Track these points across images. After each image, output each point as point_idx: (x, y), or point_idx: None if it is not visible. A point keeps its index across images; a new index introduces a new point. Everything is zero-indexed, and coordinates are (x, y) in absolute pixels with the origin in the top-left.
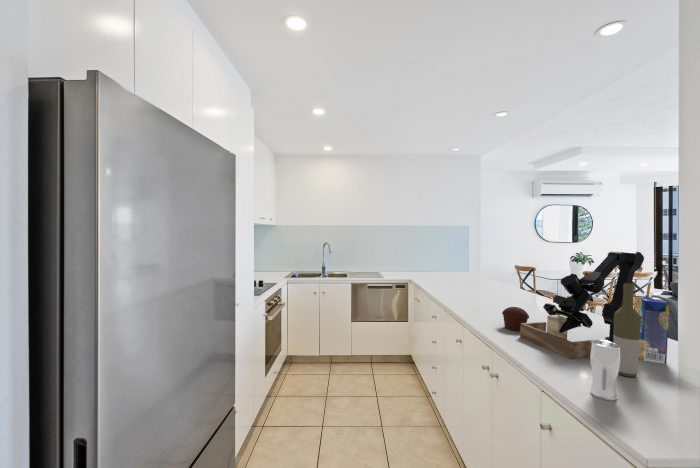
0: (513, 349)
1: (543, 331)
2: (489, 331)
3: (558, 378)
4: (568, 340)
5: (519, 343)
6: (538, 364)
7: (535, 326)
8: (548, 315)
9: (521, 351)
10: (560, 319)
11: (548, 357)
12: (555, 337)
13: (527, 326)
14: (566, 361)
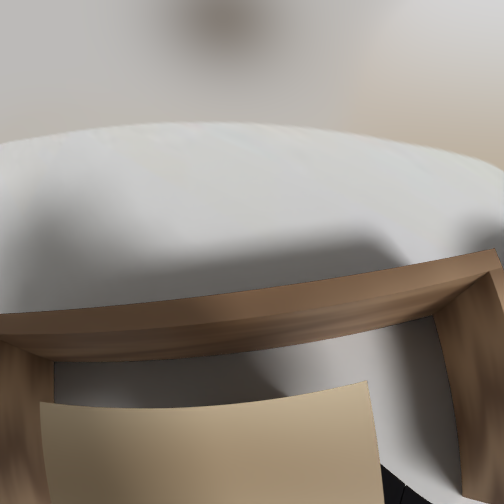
0: (224, 147)
1: (248, 306)
2: (485, 185)
3: (3, 171)
4: (6, 334)
5: (315, 219)
6: (69, 163)
7: (502, 404)
8: (354, 400)
9: (192, 165)
10: (59, 469)
11: (93, 242)
12: (92, 311)
13: (432, 262)
14: (37, 293)
